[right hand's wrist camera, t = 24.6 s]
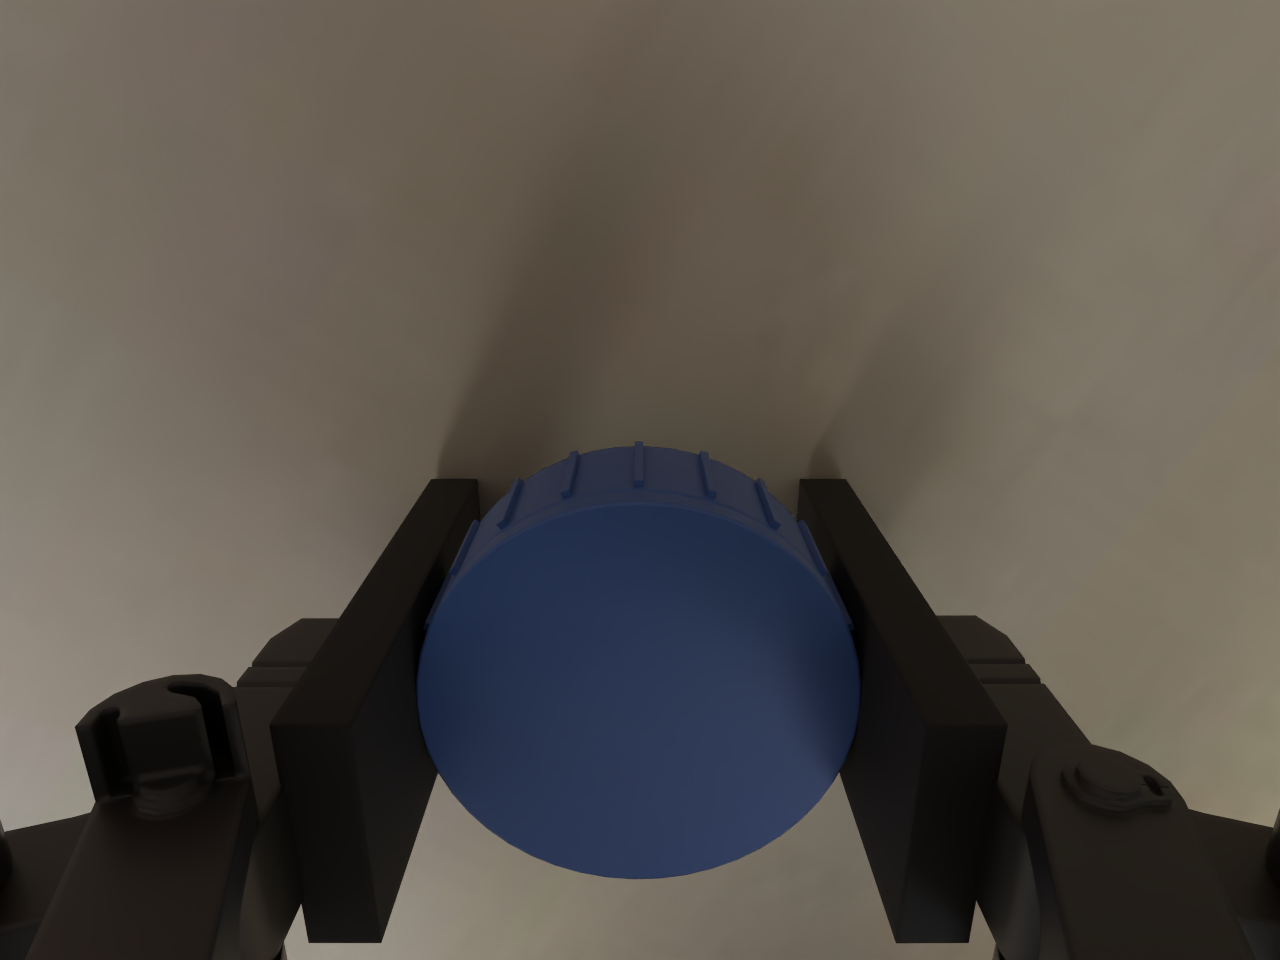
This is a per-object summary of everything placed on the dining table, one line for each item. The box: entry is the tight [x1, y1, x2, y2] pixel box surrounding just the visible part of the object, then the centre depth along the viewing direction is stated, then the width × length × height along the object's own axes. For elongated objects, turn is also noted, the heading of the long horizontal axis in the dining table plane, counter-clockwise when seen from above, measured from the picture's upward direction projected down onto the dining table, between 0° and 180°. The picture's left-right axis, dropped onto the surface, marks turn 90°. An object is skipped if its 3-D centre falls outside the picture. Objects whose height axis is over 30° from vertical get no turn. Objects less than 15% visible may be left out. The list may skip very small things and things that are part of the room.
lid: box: [416, 442, 861, 879], centre depth 11 cm, size 5×6×2 cm
